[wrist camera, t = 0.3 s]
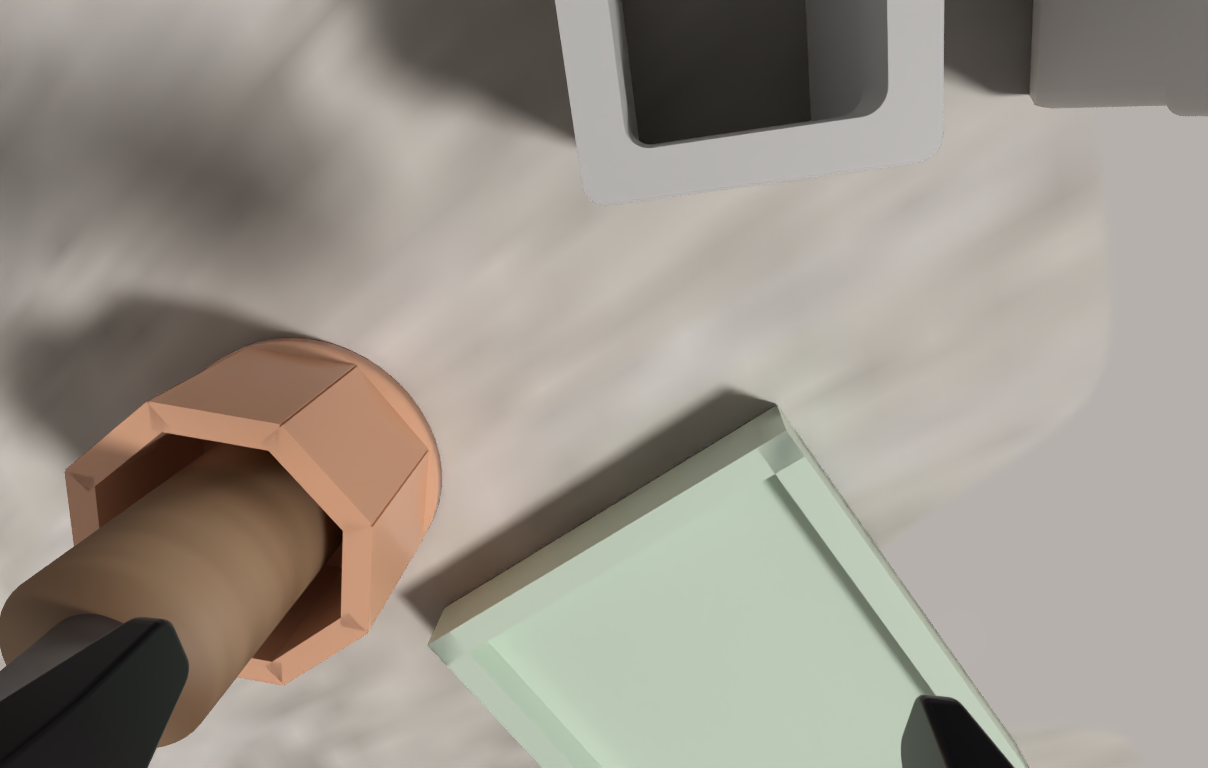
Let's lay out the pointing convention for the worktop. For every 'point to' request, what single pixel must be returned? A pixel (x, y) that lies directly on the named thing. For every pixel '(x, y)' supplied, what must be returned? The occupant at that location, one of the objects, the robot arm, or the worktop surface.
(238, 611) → the pepper mill
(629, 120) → the ice cube tray
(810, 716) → the tray
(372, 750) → the worktop surface
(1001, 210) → the worktop surface
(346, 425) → the utensil pot
